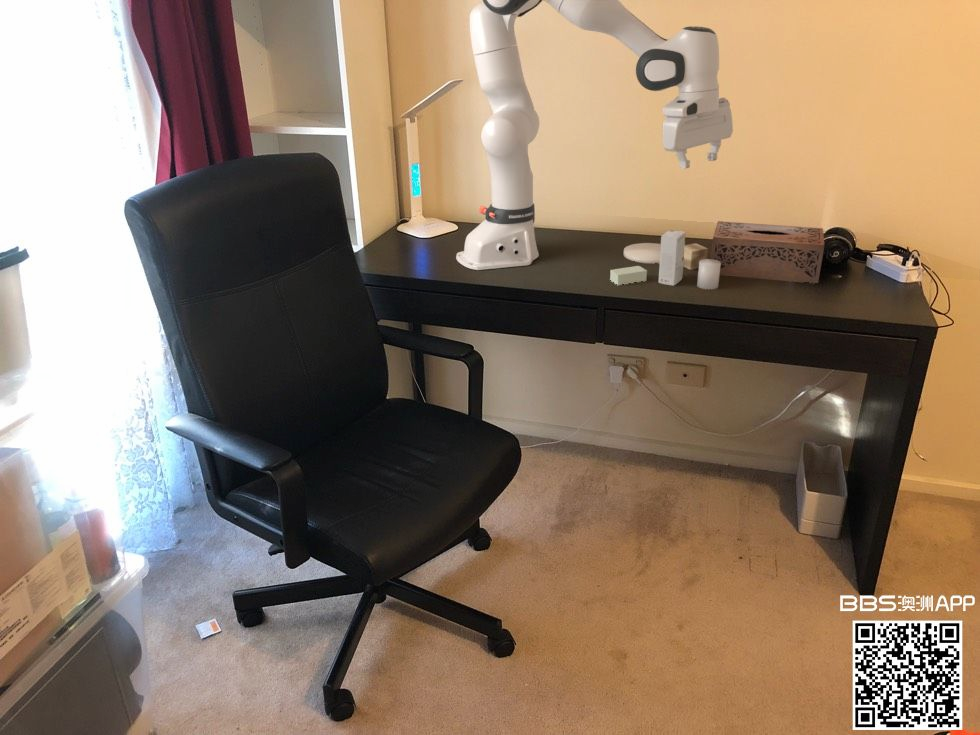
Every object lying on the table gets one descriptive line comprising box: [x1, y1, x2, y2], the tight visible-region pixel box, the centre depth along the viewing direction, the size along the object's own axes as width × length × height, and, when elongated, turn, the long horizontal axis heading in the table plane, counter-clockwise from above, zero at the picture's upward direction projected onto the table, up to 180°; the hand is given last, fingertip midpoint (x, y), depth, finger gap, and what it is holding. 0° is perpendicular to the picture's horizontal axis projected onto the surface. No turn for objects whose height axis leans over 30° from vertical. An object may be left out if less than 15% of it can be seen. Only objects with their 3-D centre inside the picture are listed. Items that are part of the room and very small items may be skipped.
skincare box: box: [658, 229, 686, 287], centre depth 196 cm, size 6×4×12 cm
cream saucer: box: [623, 242, 661, 265], centre depth 217 cm, size 14×14×1 cm
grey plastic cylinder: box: [696, 258, 721, 291], centre depth 194 cm, size 5×5×6 cm
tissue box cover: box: [710, 220, 825, 284], centre depth 203 cm, size 26×14×10 cm, turn 71°
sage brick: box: [609, 265, 648, 286], centre depth 199 cm, size 8×4×3 cm, turn 110°
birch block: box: [683, 243, 709, 270], centre depth 208 cm, size 5×5×5 cm
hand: (698, 164), depth 188 cm, fingers open, 8 cm apart
